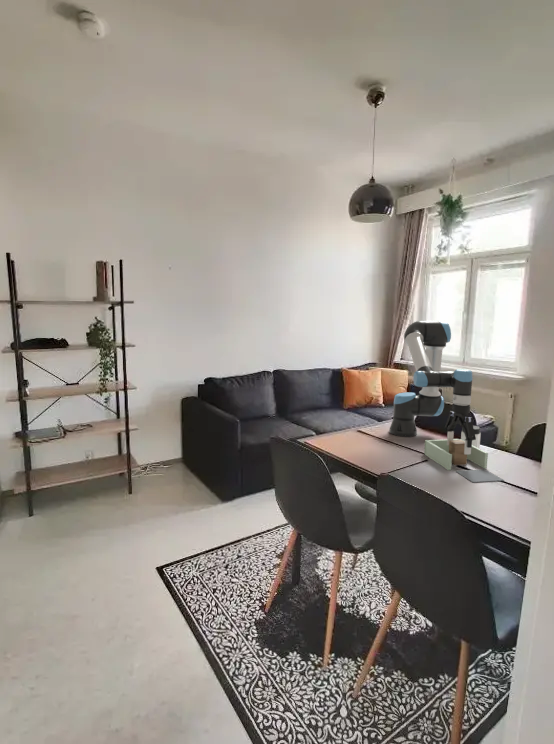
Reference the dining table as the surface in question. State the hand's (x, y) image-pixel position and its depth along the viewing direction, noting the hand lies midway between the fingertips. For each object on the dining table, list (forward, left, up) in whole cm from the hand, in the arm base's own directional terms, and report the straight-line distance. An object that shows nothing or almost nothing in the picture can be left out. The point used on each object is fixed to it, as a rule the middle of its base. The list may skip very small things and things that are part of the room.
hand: (458, 449), depth 186 cm
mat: (+16, 0, -7) cm, 17 cm away
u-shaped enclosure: (-3, 0, -7) cm, 7 cm away
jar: (-16, +17, -7) cm, 25 cm away
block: (0, 0, -7) cm, 7 cm away
